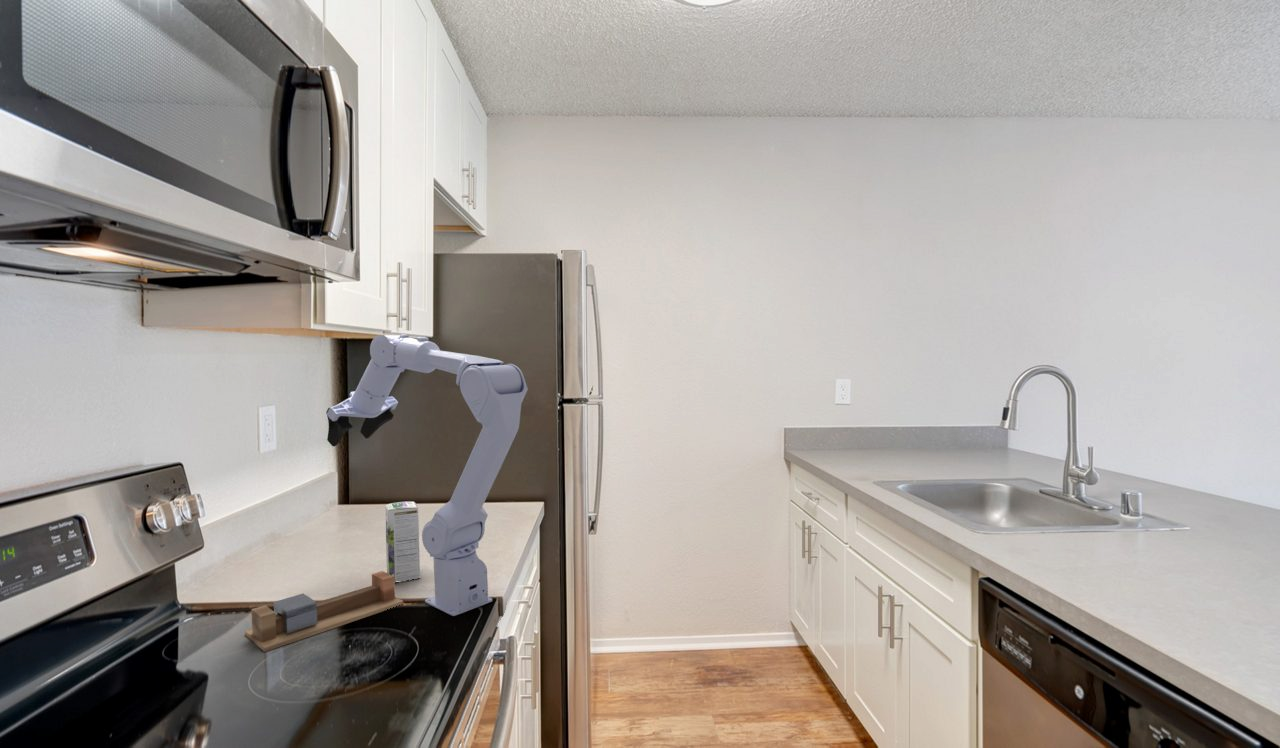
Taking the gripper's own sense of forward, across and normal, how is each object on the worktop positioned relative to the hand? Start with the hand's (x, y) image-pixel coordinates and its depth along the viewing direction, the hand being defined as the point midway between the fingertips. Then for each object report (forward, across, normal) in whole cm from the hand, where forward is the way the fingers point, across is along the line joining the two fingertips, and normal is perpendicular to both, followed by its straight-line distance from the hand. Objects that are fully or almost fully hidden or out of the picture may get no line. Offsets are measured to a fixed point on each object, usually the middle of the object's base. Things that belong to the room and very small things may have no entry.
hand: (348, 438), depth 123 cm
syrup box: (+15, -2, +26) cm, 30 cm away
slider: (+13, +22, +26) cm, 37 cm away
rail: (+12, +17, +27) cm, 34 cm away
